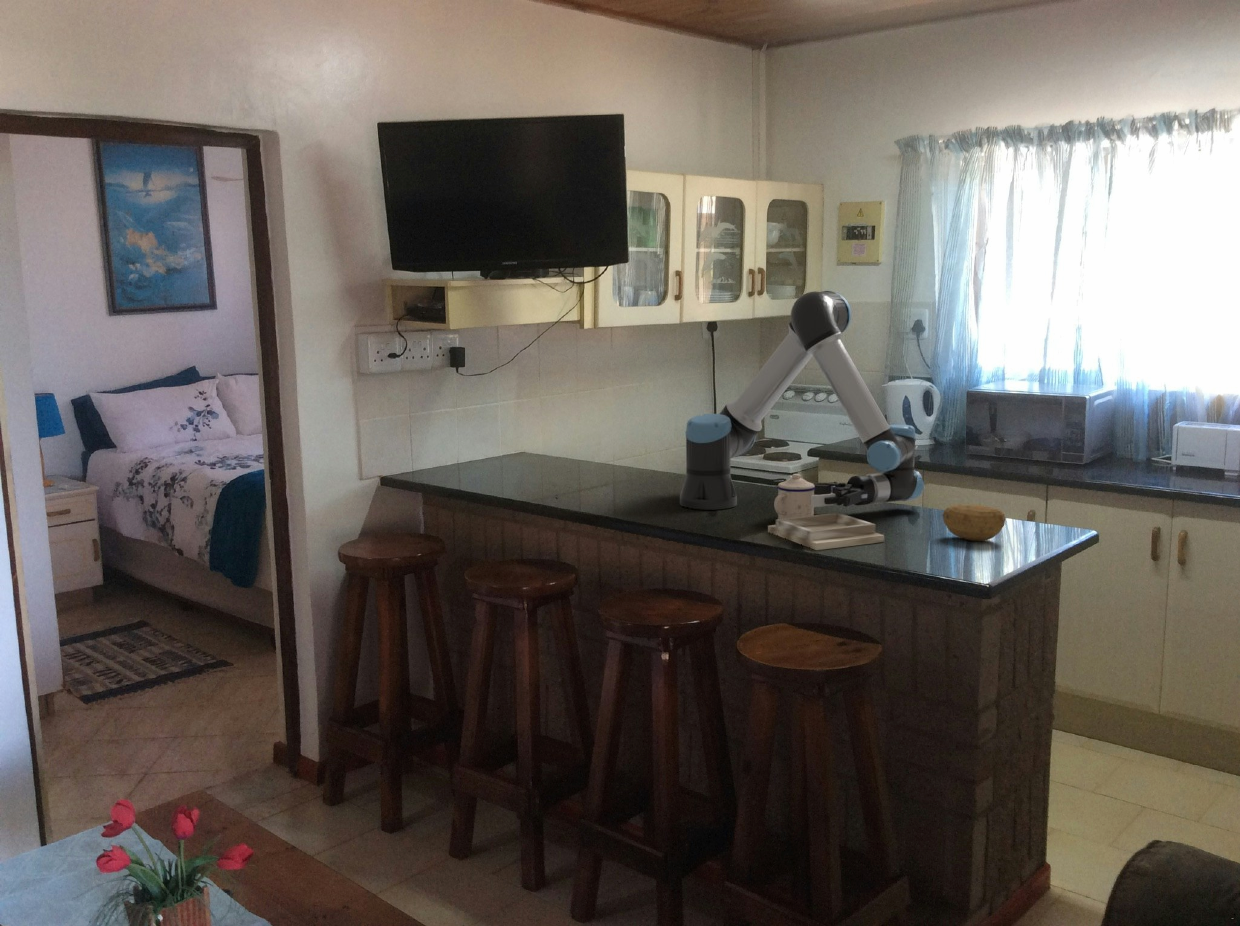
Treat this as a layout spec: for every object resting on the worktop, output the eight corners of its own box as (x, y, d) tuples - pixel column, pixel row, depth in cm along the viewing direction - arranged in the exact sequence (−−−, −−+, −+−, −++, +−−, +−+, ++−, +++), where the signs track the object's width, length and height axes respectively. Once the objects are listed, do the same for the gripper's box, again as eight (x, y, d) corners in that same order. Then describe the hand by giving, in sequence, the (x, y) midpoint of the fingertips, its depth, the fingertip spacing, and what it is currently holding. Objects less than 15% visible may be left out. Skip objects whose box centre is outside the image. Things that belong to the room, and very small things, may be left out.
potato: (954, 531, 252) (955, 498, 251) (1011, 541, 242) (1013, 506, 241) (932, 538, 246) (934, 504, 244) (991, 548, 236) (992, 512, 234)
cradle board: (768, 531, 254) (768, 517, 253) (832, 524, 261) (832, 510, 260) (816, 550, 236) (816, 534, 235) (883, 541, 243) (884, 526, 242)
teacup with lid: (793, 515, 272) (794, 470, 270) (822, 521, 265) (823, 474, 263) (761, 522, 264) (761, 475, 262) (789, 528, 257) (790, 480, 255)
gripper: (898, 513, 261) (825, 521, 252) (837, 495, 284) (768, 502, 275) (899, 482, 260) (825, 489, 251) (838, 467, 282) (768, 473, 274)
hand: (795, 496), depth 263 cm, fingers open, 13 cm apart
